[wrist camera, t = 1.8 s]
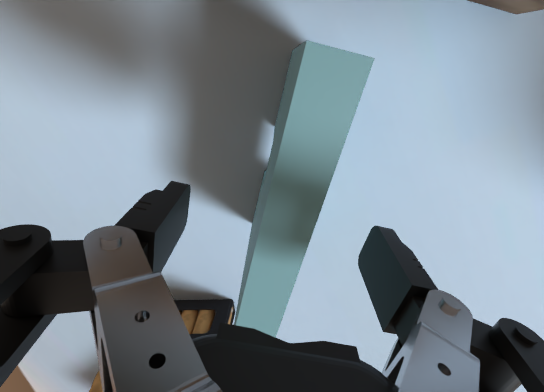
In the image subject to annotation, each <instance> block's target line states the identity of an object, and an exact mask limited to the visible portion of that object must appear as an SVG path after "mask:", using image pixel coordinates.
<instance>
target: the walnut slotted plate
mask: <svg viewBox="0 0 544 392" xmlns="http://www.w3.org/2000/svg"><path fill="white" fill-rule="evenodd" d="M468 1H472V2H475V3H479V4H482V5H486V6H489V7H493V8H496V9H500V10H503V11H507V12H510V13H514V14H520V13H526V12H531V11H537V10H542V9H544V0H468Z"/></svg>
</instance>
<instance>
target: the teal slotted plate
mask: <svg viewBox="0 0 544 392" xmlns="http://www.w3.org/2000/svg"><path fill="white" fill-rule="evenodd" d="M373 61H374V58H372V57H368V56H364V55H360V54H357V53H353V52H349V51H345V50H341V49H338V48H334V47H330V46H326V45H322V44H319V43H315V42H311V41H305V42H304V43H302V44H301V45H299V46H298V47H297V48H295V49H294V50H293V51H292V55H291V59H290V63H289V68H288V72H287V76H286V81H285V85H284V89H283V94H282V98H281V102H280V106H279V111H278V115H277V119H276V124H275V129H274V139H273V145H272V149H271V153H270V157H269V162H268V166H267V170H266V171H264V175H263V180H262V184H261V188H260V192H259V197H258V201H257V205H256V210H255V214H254V218H253V223H252V228H251V233H250V239H249V244H248V250H247V256H246V261H245V267H244V272H243V278H242V283H241V289H240V294H239V300H238V305H237V311H236V317H235V322H234V325H237V326H242V327H248V328H254V329H256V330H259V331H261V332H263V333H266V334H268V335H270V336H273V337H276V335H277V332H278V329H279V326H280V323H281V321H282V318H283V315H284V312H285V309H286V306H287V304H288V301H289V298H290V295H291V292H292V290H293V287H294V284H295V281H296V278H297V275H298V273H299V270H300V267H301V264H302V261H303V259H304V256H305V253H306V250H307V247H308V244H309V242H310V239H311V236H312V233H313V230H314V228H315V225H316V222H317V219H318V216H319V213H320V211H321V208H322V205H323V202H324V199H325V197H326V194H327V191H328V188H329V185H330V182H331V180H332V177H333V174H334V171H335V168H336V166H337V163H338V160H339V157H340V154H341V151H342V149H343V146H344V143H345V140H346V137H347V135H348V132H349V129H350V126H351V123H352V120H353V118H354V115H355V112H356V109H357V106H358V104H359V101H360V98H361V95H362V92H363V89H364V87H365V84H366V81H367V78H368V75H369V73H370V70H371V67H372V64H373Z"/></svg>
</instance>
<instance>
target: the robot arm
mask: <svg viewBox="0 0 544 392" xmlns="http://www.w3.org/2000/svg"><path fill="white" fill-rule="evenodd" d="M189 198H190V185H188V184H184V183H179V182H174V181H171V182H170V183H169V184H168V185H167V186H166V188H165V189H164V190H163V191H160V190H153V191H151V192H149V193H146V194H145V195H144V196H143V197H142V198H141V199H140V200H139V201H138V202H137V203H136V204H135V205H134V206H133V208H131V209H130V210H129V211H128V212H127V213H126V214H125V215H124V216H123V217H122V218H121V219H120V220H119V221H118V222H117V223H116V224H115V225H114V226H106V227H101V228H98V229H95V230H93V231H92V232H90V233H89V234H87V235H86V236H85V238H84V240H61V241H52V239H51V233H50V231H49V230H48V229H46V228H45V227H42V226H38V225H16V226H11V227H7V228H4V229H1V230H0V387H1V386H2V384H3V383H4V382H5V380H6V379H7V378H8V377H9V375H10V374H11V373H12V371H13V370H14V369H15V368H16V366H17V365H18V364H19V362H20V361H21V360H22V359H23V357H24V356H25V355H26V353H27V352H28V351H29V350H30V348H31V347H32V346H33V344H34V343H35V342H36V341H37V339H38V338H39V337H40V335H41V334H42V333H43V331H44V330H45V329H46V328H47V326H48V325H49V324H50V322H51V321H52V320H53V319H54V317H55V316H56V315H57V314H60V313H71V312H81V311H89V312H90V317H91V323H92V329H93V334H94V340H95V345H96V351H97V356H98V362H99V369H100V377H101V384H102V391H103V392H514V391H515V390H516V389H517V388H518V387H519V386H520V385H521V384H522V385H523V386H524V388H525V389H526V390H527V392H544V341H543V339H542V338H540V337H539V336H538V335H537V334H536V333H535V332H533V331H532V330H531V329H529V328H528V327H526V326H525V325H523V324H521V323H519V322H517V321H514V320H512V319H508V318H501V319H500V320H499V321H498V322H497V323H496V324H495V325H494V326H493V327H492V326H489V325H487V324H485V323H482V322H480V321H478V320H475V319H473V316H472V314H471V312H470V310H469V309H468V308H467V307H466V306H465V305H464V304H463V303H462V302H461V301H460V300H459V299H457V298H456V297H454V296H453V295H451V294H449V293H447V292H444V291H441V290H438V288H437V287H436V286H435V284H434V283H433V281H432V280H431V278H430V277H429V275H428V274H427V272H426V271H425V269H423V266H422V265H421V264H420V262H419V261H418V259H417V258H416V256H415V255H414V253H413V252H412V251H411V250H410V249H409V248H408V247H407V246H406V245H405V244H403V243H402V242H401V240H400V239H399V237H398V236H397V234H396V233H395V231H394V230H393V229H389V228H384V227H380V226H374V227H373V228H372V229H371V231H370V233H369V235H368V237H367V239H366V241H365V243H364V246H363V248H362V250H361V252H360V254H359V259H358V266H359V269H360V272H361V274H362V277H363V280H364V282H365V285H366V288H367V290H368V293H369V296H370V298H371V301H372V304H373V306H374V309H375V311H376V314H377V317H378V319H379V322H380V325H381V327H382V330H383V332H387V333H392V334H397V336H398V339H397V340H396V342H395V343H394V345H393V347H392V350H391V352H390V354H389V357H388V359H387V361H386V364H385V366H384V368H383V371H382V373H381V372H379V371H378V370H377V369H375V368H374V367H372V366H371V365H369V364H367V363H365V362H363V361H361V360H360V359H359V355H358V352H357V348H356V347H355V346H349V345H344V344H338V343H332V342H327V341H317V342H305V343H287V342H285V341H282V340H280V339H277V338H275V337H273V336H270V335H268V334H266V333H263V332H261V331H259V330H256V329H254V328H248V327H242V326H237V325H231V324H225V323H220V324H219V328H218V333H217V334H210V335H205V336H200V337H197V338H194V339H191V337H190V334H189V332H188V330H187V328H186V326H185V324H184V321H183V319H182V317H181V315H180V313H179V311H178V308H177V306H176V304H175V302H174V300H173V297H172V295H171V293H170V291H169V289H168V287H167V284H166V282H165V280H164V278H163V276H162V274H161V271H162V269H163V267H164V266H165V264H166V262H167V260H168V258H169V257H170V255H171V253H172V251H173V249H174V247H175V246H176V244H177V242H178V240H179V238H180V236H181V235H182V233H183V231H184V228H185V226H186V222H187V216H188V207H189Z"/></svg>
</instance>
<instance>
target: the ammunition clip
mask: <svg viewBox="0 0 544 392" xmlns="http://www.w3.org/2000/svg"><path fill="white" fill-rule="evenodd" d="M174 302H175V304H176V306H177V308H178V311H179V313H180V315H181V317H182V319H183V321H184V324H185V326H186V328H187V330H188V332H189V334H190V337H191V339H194V338H197V337H200V336H205V335H210V334H217V333H218V328H219V324H220V323H225V324H231V325H232V323H233V319H234V315H235V308H234V302H233V300H232V299H223V300H174ZM89 392H103V391H102V384H101V377H100V369H99V371H98V373H97V375H96V377H95V379H94V381H93V384H92V387H91V389H90V391H89Z"/></svg>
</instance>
